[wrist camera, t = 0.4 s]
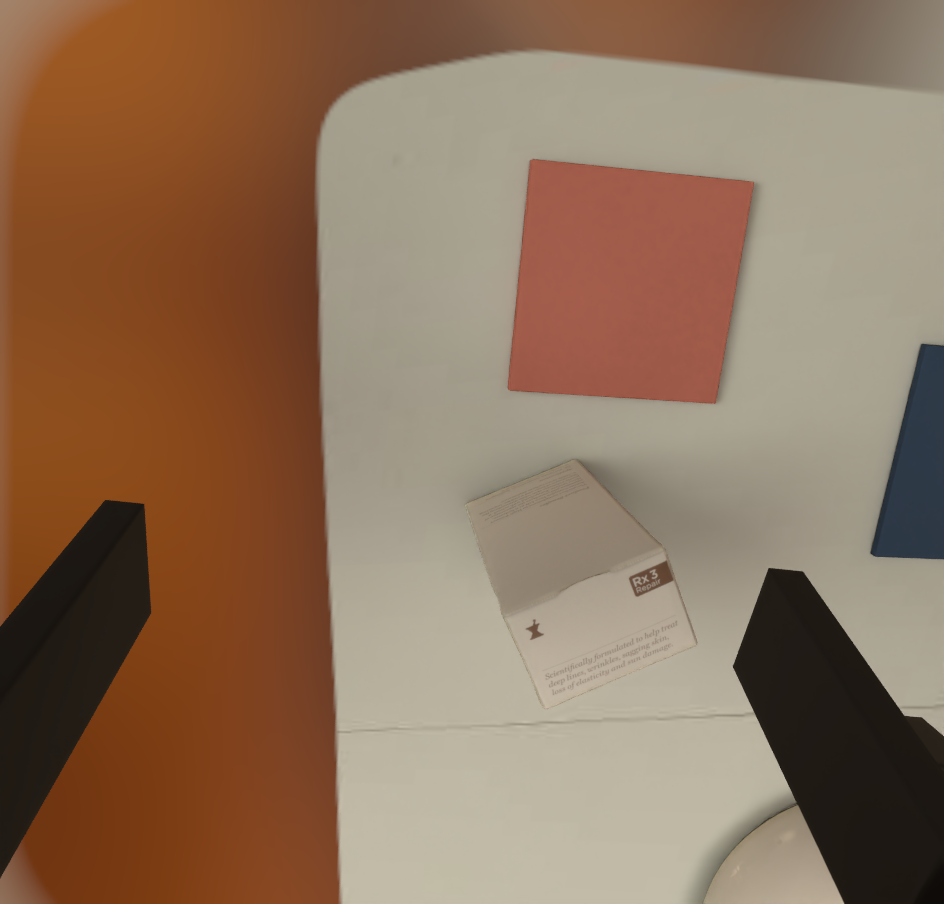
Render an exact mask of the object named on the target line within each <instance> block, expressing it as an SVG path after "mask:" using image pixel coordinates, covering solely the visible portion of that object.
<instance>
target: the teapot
mask: <svg viewBox="0 0 944 904" xmlns="http://www.w3.org/2000/svg"><path fill="white" fill-rule="evenodd" d="M703 904H844V902H843V900H842V898H841V896H840V894H839V891H838V889H837V887H836V885H835V883H834V881H833V879H832V877H831V874H830V872H829V870H828V868H827V866H826V864H825V862H824V859H823V857H822V855H821V853H820V851H819V849H818V847H817V845H816V842H815V840H814V838H813V836H812V834H811V832H810V830H809V828H808V825H807V823H806V821H805V819H804V817H803V815H802V813H801V811H800V808H799V806H798V805H796V806H794V807H792V808H790V809H787V810H785V811H783V812H781V813H779V814H778V815H776V816H774V817H773V818H771V819H769V820H768V821H766V822H765V823H763V824H762V825H760V826H759V827H758V828H756V829H755V830H754V831H753V832H751V833H750V834H749V835H748V836H746V837H745V838H744V839H743V840H742V841H741V842H740V843H739V844H738V845H737V846H736V847H735V848H734V849H733V851H732V852H731V853H730V854H729V855H728V857H727V858H726V859H725V861H724V862H723V863H722V865H721V866H720V868H719V870H718V871H717V873H716V874H715V876H714V878H713V880H712V882H711V884H710V887H709V889H708V891H707V894H706V897H705V899H704V903H703Z"/></svg>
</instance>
